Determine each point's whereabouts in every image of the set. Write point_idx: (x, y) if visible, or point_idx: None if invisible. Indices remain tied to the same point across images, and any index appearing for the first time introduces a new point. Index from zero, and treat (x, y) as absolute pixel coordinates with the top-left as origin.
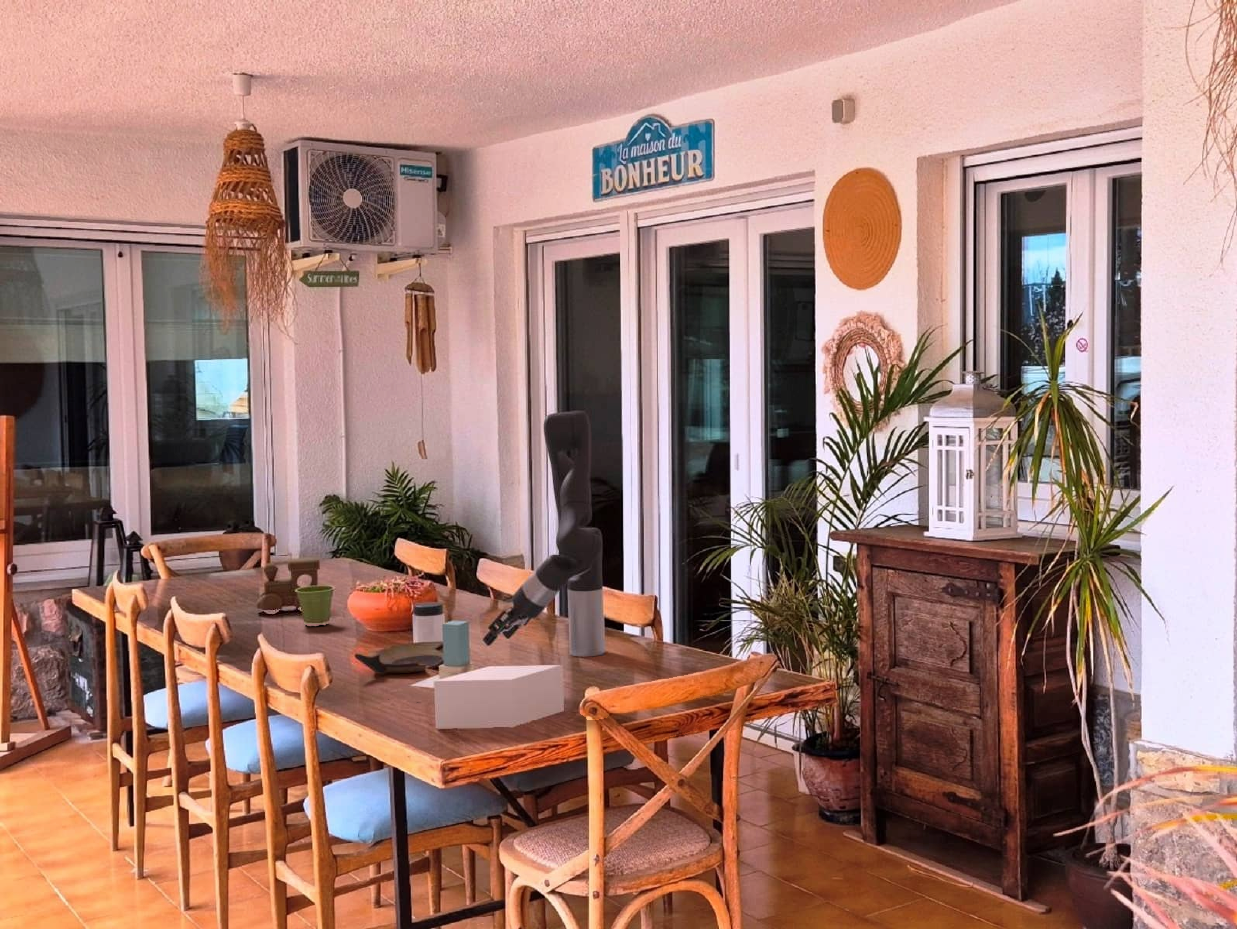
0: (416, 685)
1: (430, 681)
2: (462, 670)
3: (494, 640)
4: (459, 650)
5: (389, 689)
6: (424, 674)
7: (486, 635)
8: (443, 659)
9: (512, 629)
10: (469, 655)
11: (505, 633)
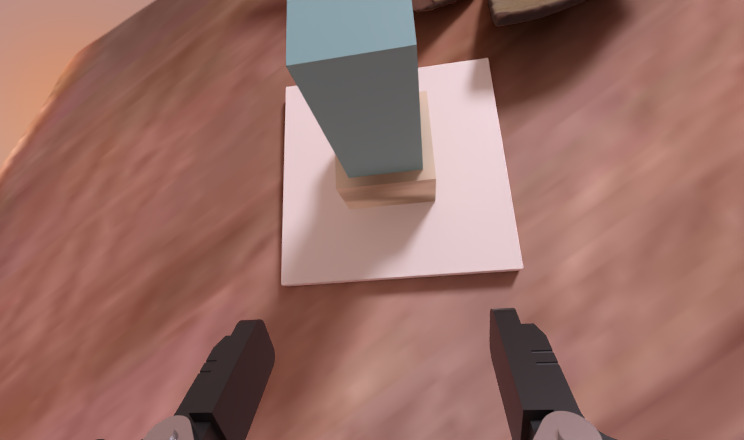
0: (292, 102)
1: None
2: (354, 192)
3: (255, 405)
4: (335, 147)
5: (277, 49)
6: (462, 6)
7: (223, 352)
8: (496, 12)
9: (511, 412)
10: (420, 155)
11: (495, 334)
